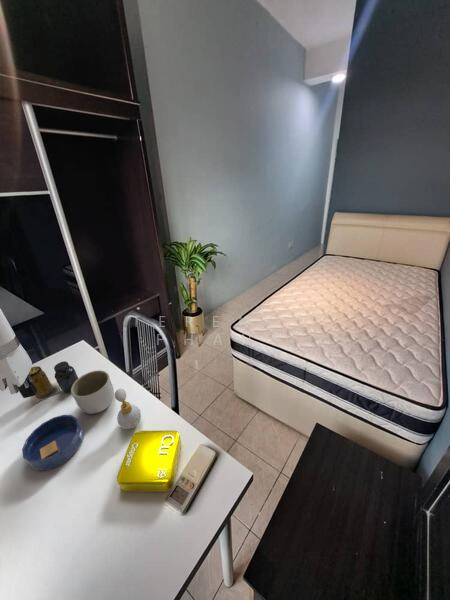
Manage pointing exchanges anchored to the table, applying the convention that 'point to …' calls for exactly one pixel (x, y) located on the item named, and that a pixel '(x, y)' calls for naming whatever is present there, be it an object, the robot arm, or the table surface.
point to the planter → (93, 392)
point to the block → (49, 450)
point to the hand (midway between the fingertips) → (30, 394)
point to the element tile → (150, 462)
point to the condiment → (42, 384)
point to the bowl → (55, 429)
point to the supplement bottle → (65, 376)
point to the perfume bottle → (127, 411)
